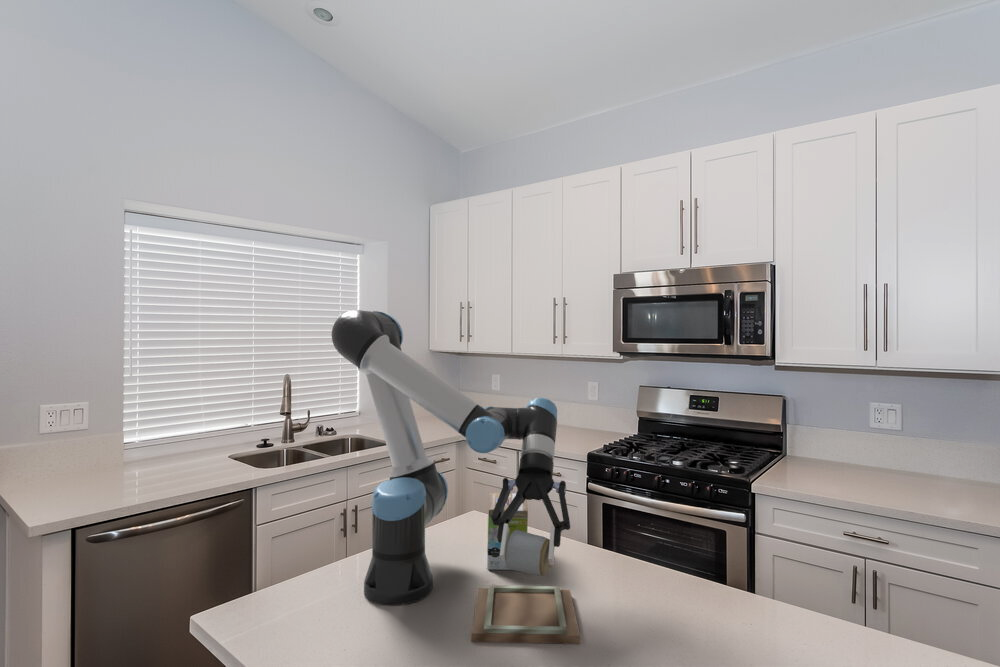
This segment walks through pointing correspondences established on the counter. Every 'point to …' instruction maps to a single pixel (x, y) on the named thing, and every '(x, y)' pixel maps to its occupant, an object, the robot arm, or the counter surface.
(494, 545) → the tea box
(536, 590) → the board
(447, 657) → the counter surface
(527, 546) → the ceramic mug
